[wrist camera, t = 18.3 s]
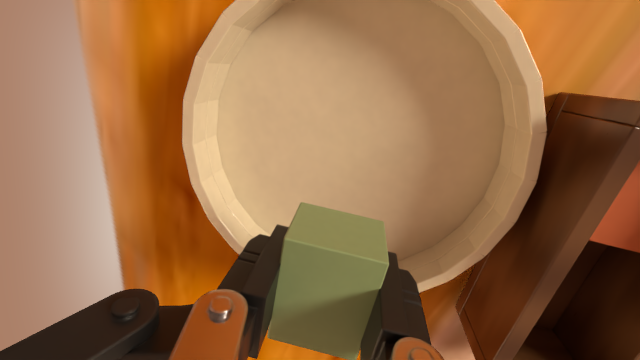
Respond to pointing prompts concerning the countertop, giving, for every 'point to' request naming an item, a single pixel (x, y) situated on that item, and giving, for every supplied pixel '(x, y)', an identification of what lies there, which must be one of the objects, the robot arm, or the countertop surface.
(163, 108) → the countertop surface
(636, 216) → the orange rectangular block
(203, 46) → the bowl
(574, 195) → the holder
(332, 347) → the green block
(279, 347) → the countertop surface
